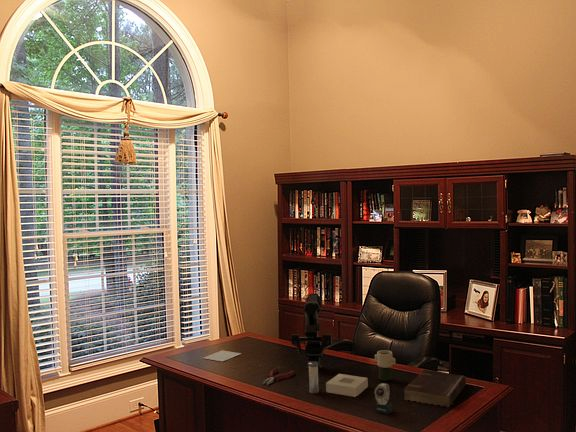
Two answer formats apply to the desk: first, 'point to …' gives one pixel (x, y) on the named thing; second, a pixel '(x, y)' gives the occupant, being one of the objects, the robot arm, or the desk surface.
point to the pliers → (275, 378)
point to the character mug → (385, 364)
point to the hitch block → (347, 385)
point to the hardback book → (435, 388)
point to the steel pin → (313, 376)
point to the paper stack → (222, 355)
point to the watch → (382, 399)
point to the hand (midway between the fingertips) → (310, 356)
